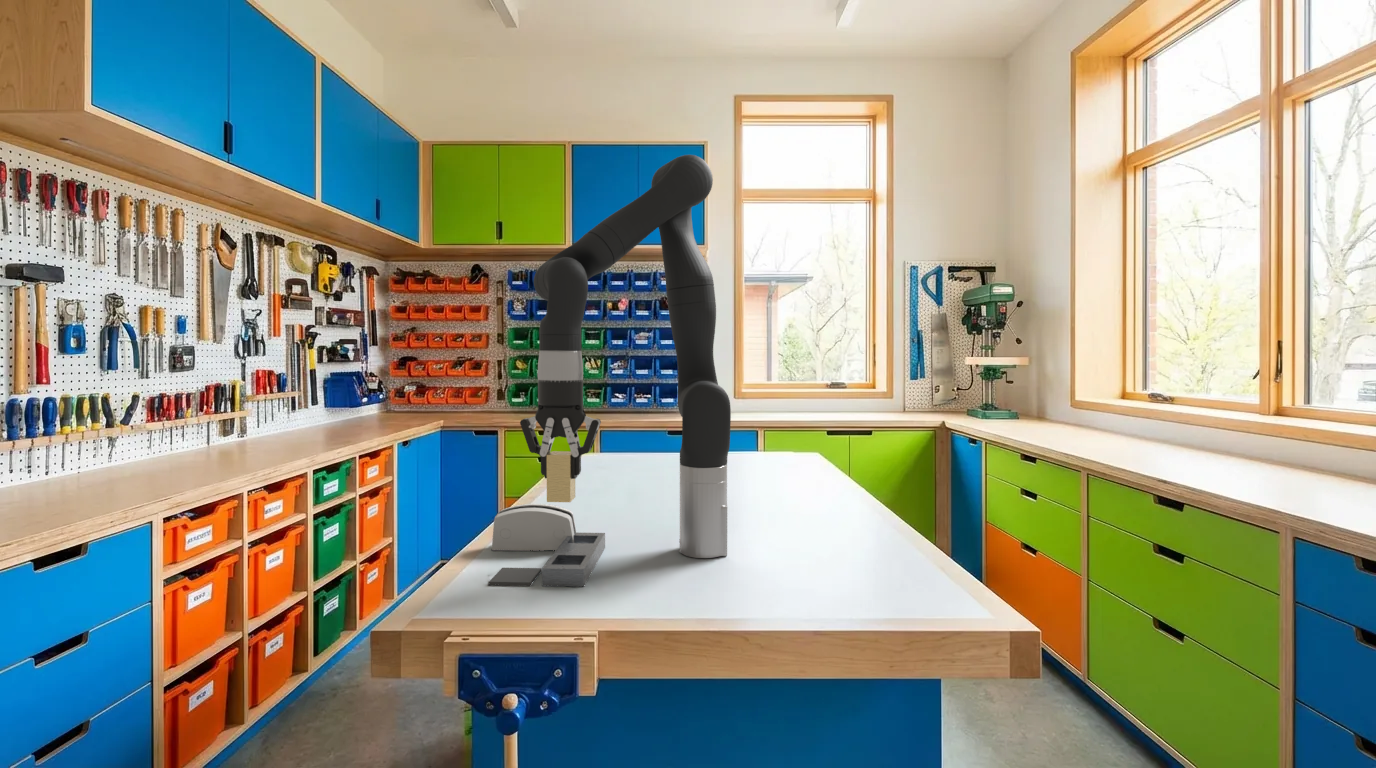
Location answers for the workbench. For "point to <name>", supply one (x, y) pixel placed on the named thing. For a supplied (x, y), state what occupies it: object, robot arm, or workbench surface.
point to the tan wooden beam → (559, 477)
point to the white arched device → (532, 527)
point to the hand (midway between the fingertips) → (560, 477)
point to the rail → (574, 560)
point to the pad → (515, 576)
